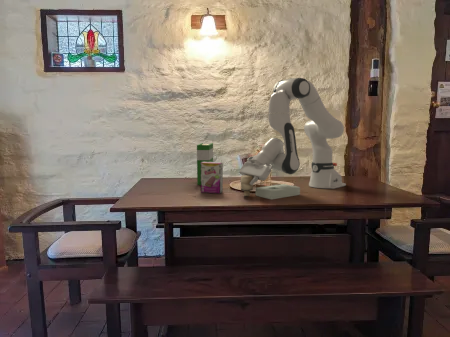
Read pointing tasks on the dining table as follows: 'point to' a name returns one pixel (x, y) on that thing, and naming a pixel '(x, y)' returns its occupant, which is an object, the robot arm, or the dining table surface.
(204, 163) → the candy bar box
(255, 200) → the dining table surface
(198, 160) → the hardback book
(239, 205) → the dining table surface
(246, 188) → the peg
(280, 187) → the board
